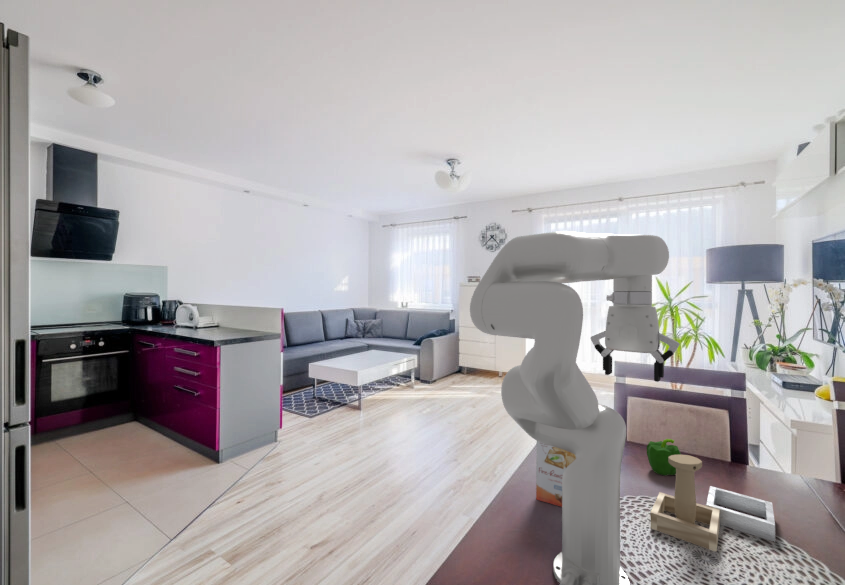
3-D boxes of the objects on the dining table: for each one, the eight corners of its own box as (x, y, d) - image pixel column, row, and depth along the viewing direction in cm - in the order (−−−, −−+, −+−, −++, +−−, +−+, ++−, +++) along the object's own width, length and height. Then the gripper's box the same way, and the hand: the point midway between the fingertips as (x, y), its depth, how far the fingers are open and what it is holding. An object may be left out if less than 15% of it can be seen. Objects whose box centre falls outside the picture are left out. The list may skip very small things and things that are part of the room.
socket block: (775, 542, 77) (775, 525, 77) (706, 520, 85) (706, 504, 85) (772, 517, 86) (772, 502, 86) (710, 499, 93) (709, 485, 93)
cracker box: (535, 501, 92) (535, 417, 92) (540, 490, 97) (541, 410, 97) (597, 518, 85) (597, 427, 85) (599, 505, 90) (599, 419, 90)
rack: (716, 552, 74) (716, 534, 74) (650, 528, 81) (650, 512, 81) (719, 525, 83) (719, 509, 83) (659, 506, 90) (659, 491, 90)
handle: (707, 532, 80) (707, 463, 80) (681, 535, 79) (681, 465, 79) (688, 519, 85) (688, 453, 85) (663, 522, 84) (663, 455, 84)
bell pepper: (640, 470, 109) (640, 436, 109) (654, 463, 113) (654, 430, 113) (672, 482, 102) (672, 445, 102) (686, 474, 106) (685, 439, 106)
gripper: (586, 299, 85) (585, 374, 85) (676, 300, 74) (676, 386, 74) (596, 299, 91) (596, 369, 91) (681, 300, 79) (681, 380, 79)
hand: (632, 377), depth 82 cm, fingers open, 9 cm apart
